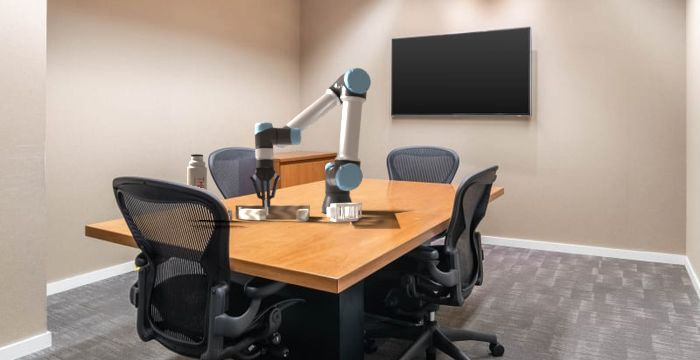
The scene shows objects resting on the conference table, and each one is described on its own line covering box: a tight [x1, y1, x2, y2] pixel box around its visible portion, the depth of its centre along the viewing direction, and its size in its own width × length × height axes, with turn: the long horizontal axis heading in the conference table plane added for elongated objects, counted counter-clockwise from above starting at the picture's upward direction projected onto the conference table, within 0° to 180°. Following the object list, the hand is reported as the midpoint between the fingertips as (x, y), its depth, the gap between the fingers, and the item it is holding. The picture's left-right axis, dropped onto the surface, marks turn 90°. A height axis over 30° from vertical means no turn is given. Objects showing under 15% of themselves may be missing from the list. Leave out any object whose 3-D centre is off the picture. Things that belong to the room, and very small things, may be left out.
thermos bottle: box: [186, 153, 208, 191], centre depth 216 cm, size 8×8×28 cm
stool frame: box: [227, 204, 311, 223], centre depth 220 cm, size 35×20×6 cm, turn 89°
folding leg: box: [238, 207, 267, 221], centre depth 219 cm, size 15×4×5 cm, turn 52°
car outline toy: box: [326, 202, 363, 223], centre depth 221 cm, size 20×11×7 cm, turn 138°
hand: (266, 215), depth 216 cm, fingers closed
